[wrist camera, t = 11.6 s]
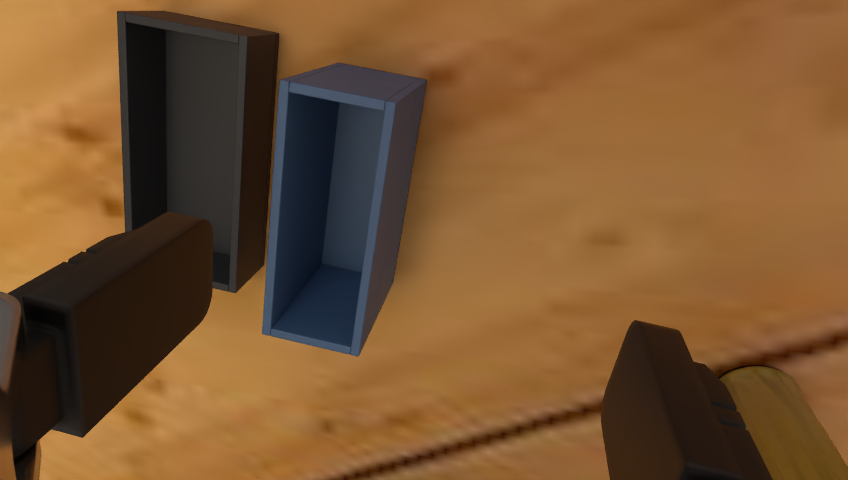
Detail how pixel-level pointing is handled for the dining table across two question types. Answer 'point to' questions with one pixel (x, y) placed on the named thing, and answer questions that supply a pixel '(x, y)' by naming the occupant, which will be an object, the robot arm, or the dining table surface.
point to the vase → (784, 426)
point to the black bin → (199, 130)
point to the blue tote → (338, 201)
